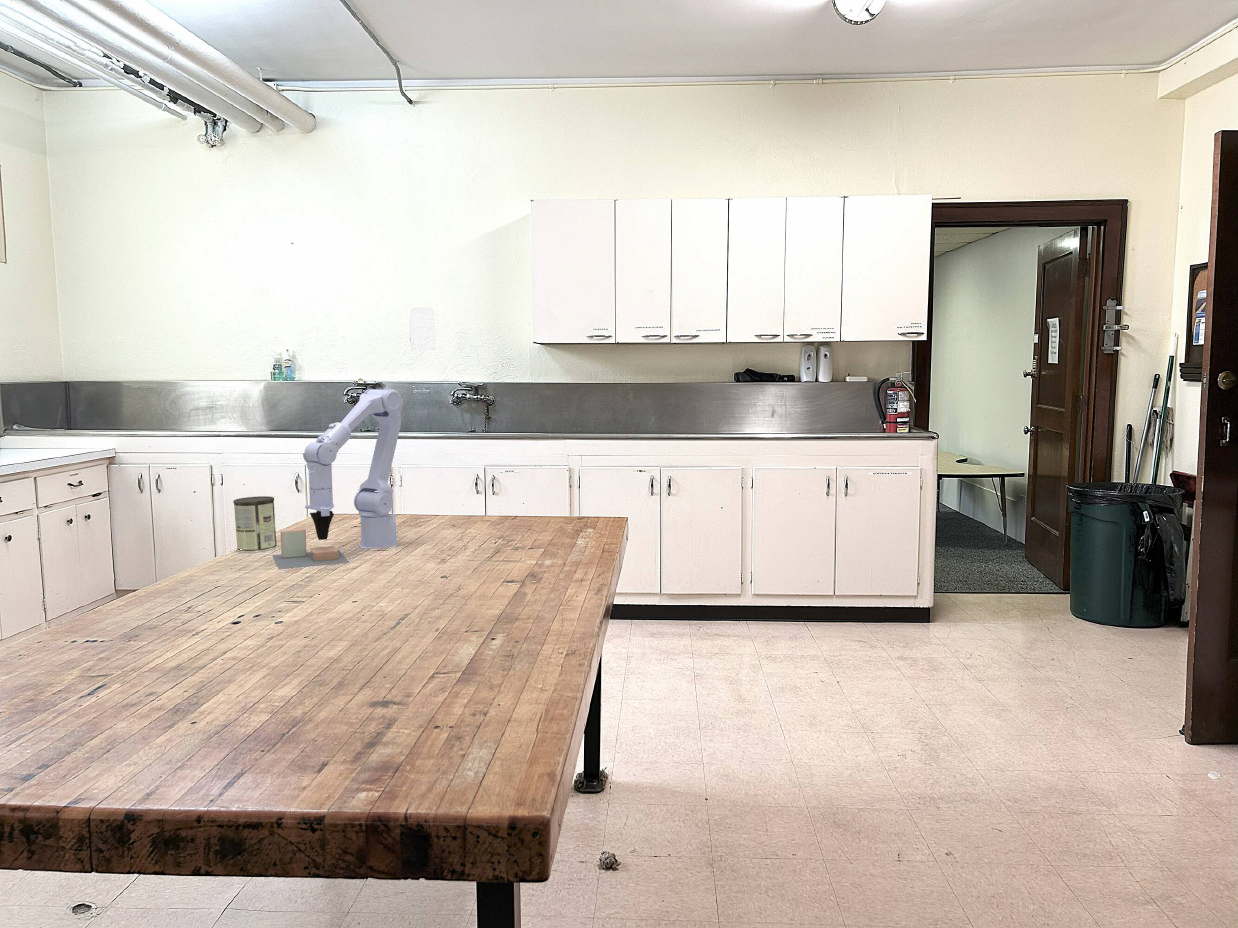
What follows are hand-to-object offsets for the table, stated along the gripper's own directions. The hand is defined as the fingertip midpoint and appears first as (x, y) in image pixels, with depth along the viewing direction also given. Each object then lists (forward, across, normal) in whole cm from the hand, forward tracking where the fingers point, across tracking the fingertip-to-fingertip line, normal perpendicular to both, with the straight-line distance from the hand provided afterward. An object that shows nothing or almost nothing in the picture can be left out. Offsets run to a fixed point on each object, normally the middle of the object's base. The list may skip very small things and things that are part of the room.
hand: (322, 539), depth 232 cm
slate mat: (+5, +2, -4) cm, 6 cm away
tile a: (+3, -1, 0) cm, 4 cm away
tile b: (+4, -2, -7) cm, 9 cm away
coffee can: (+5, -18, -15) cm, 24 cm away
